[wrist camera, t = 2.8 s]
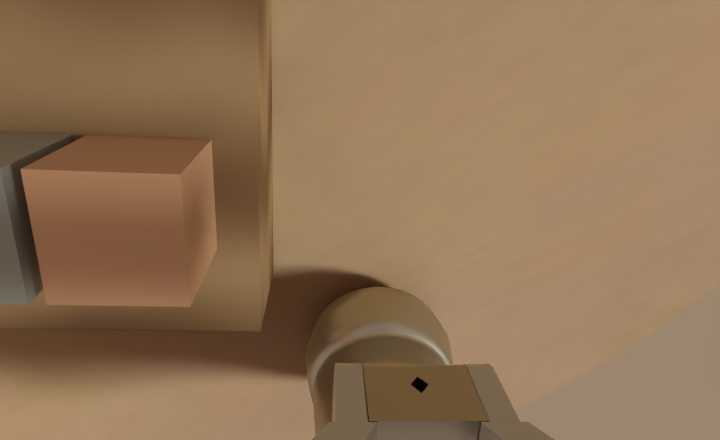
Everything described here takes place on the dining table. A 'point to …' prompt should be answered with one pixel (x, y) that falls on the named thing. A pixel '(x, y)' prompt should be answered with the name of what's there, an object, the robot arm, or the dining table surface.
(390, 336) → the plastic bottle
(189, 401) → the dining table surface
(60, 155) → the peach colored cube
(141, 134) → the brown wooden block
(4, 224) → the matte grey cube
